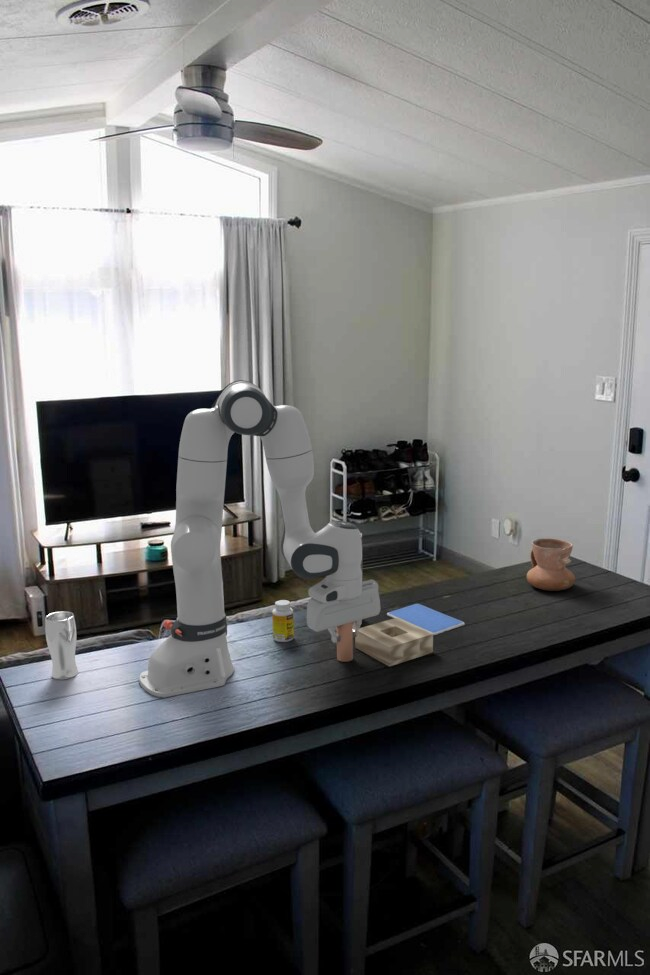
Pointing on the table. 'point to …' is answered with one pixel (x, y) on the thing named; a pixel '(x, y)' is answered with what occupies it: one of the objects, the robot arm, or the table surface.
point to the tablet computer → (426, 618)
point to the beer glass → (61, 644)
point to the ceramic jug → (550, 565)
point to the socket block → (394, 641)
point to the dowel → (345, 642)
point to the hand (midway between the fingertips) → (344, 639)
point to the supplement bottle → (283, 621)
